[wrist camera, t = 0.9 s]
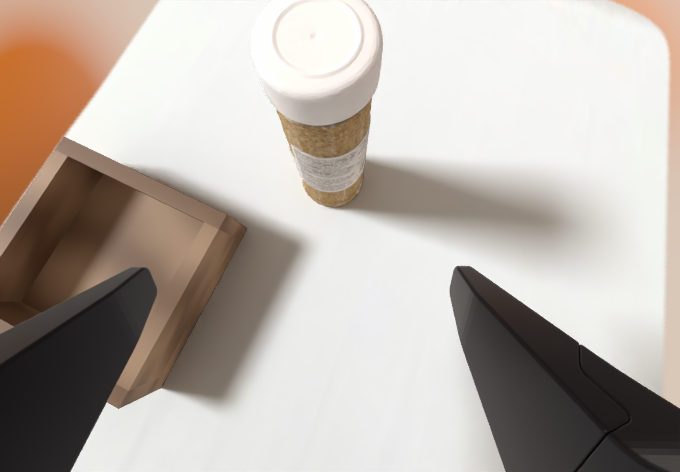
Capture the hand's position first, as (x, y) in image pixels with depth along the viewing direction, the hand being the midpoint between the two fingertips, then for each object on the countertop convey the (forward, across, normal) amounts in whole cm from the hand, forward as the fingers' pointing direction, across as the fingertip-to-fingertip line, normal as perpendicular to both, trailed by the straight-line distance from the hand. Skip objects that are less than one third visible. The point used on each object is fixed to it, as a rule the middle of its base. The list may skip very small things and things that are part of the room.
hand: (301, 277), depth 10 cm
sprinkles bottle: (+15, 0, +3) cm, 16 cm away
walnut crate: (+11, +14, +8) cm, 19 cm away
